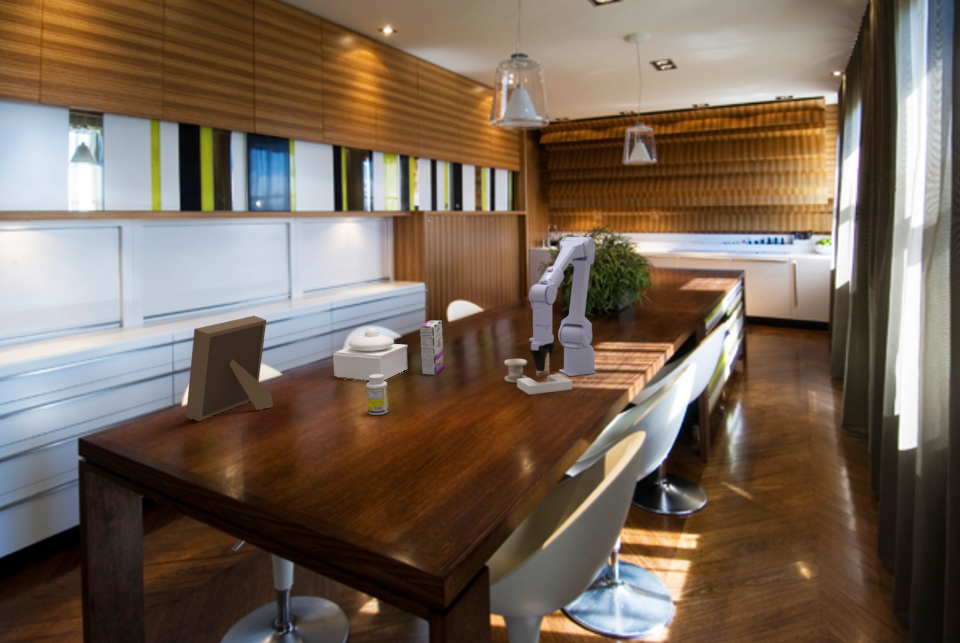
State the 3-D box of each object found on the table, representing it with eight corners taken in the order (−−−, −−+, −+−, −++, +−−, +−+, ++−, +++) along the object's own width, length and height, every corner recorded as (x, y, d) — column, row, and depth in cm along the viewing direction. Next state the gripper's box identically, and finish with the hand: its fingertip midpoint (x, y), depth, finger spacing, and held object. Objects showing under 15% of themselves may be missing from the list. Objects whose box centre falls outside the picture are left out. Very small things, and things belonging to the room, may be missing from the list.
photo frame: (186, 420, 171) (177, 327, 167) (244, 398, 191) (238, 314, 187) (229, 427, 166) (222, 331, 161) (285, 403, 186) (280, 317, 181)
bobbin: (521, 375, 210) (521, 357, 209) (530, 381, 203) (530, 362, 202) (501, 378, 207) (501, 359, 206) (509, 383, 201) (509, 364, 200)
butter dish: (334, 379, 212) (331, 331, 209) (364, 366, 228) (362, 321, 226) (380, 383, 205) (378, 334, 202) (408, 370, 222) (406, 324, 219)
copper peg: (545, 373, 198) (545, 350, 197) (551, 376, 194) (551, 353, 193) (533, 374, 196) (533, 351, 195) (539, 377, 193) (539, 354, 192)
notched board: (558, 381, 202) (558, 374, 201) (572, 389, 193) (572, 380, 193) (517, 386, 197) (517, 378, 196) (529, 394, 189) (529, 386, 188)
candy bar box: (430, 366, 225) (428, 320, 222) (444, 367, 224) (442, 320, 221) (421, 375, 214) (419, 326, 211) (435, 375, 213) (433, 326, 210)
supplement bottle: (379, 408, 179) (377, 372, 177) (392, 411, 175) (391, 375, 173) (363, 413, 175) (361, 376, 173) (377, 417, 171) (375, 379, 169)
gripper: (538, 319, 201) (538, 362, 203) (521, 327, 188) (521, 373, 190) (560, 321, 198) (560, 364, 200) (544, 329, 185) (544, 375, 187)
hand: (542, 369), depth 195 cm, fingers closed on copper peg, 4 cm apart
